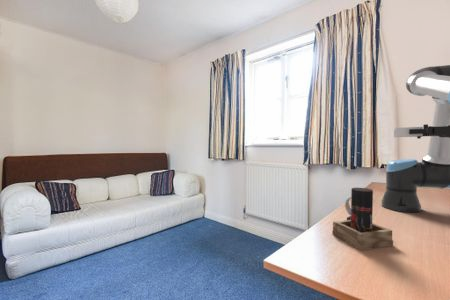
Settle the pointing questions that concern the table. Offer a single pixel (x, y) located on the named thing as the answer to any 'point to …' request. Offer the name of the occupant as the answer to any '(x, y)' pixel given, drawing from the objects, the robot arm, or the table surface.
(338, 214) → the table surface
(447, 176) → the robot arm
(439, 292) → the table surface
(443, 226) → the table surface
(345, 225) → the crate
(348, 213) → the watch
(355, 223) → the deodorant
